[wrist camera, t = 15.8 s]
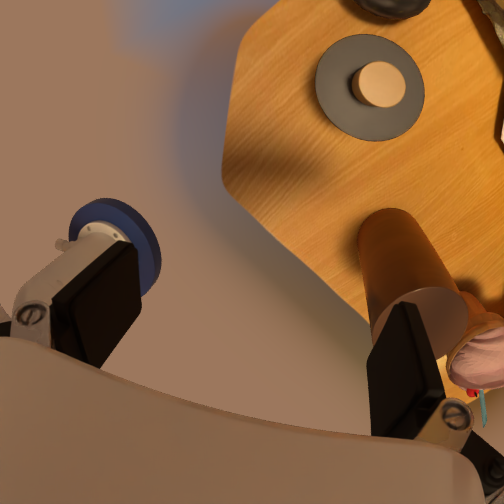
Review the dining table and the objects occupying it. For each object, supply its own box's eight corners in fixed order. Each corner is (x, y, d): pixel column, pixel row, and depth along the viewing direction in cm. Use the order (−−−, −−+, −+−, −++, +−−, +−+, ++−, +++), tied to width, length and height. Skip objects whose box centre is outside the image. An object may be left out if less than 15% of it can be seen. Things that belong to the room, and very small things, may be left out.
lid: (306, 125, 27) (303, 132, 22) (323, 26, 22) (323, 7, 17) (408, 152, 26) (429, 165, 20) (427, 55, 21) (452, 46, 16)
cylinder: (348, 262, 41) (357, 359, 26) (367, 200, 37) (396, 276, 22) (407, 275, 40) (439, 371, 25) (429, 217, 36) (485, 297, 20)
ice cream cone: (486, 319, 40) (527, 413, 23) (428, 336, 44) (454, 440, 27) (488, 263, 36) (550, 358, 19) (425, 282, 40) (465, 392, 23)
